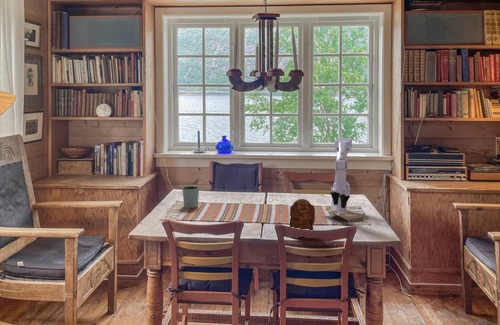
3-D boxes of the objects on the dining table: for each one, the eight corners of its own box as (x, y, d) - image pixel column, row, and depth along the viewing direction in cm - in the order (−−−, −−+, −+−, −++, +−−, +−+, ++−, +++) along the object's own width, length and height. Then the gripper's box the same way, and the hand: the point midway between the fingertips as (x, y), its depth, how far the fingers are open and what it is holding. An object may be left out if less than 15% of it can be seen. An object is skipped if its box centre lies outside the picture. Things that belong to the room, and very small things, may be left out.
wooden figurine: (292, 237, 217) (293, 201, 215) (288, 234, 223) (289, 198, 221) (315, 236, 220) (317, 200, 217) (311, 232, 226) (312, 197, 223)
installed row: (336, 215, 260) (337, 212, 260) (348, 214, 263) (348, 211, 263) (351, 221, 247) (351, 218, 247) (363, 220, 250) (363, 217, 249)
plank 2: (331, 212, 250) (333, 209, 250) (342, 218, 253) (343, 215, 253) (338, 215, 243) (340, 212, 243) (349, 221, 246) (351, 218, 246)
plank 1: (324, 209, 257) (326, 206, 257) (335, 215, 260) (336, 212, 260) (331, 212, 250) (332, 209, 250) (342, 218, 253) (343, 215, 253)
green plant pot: (200, 205, 282) (200, 186, 281) (197, 208, 272) (197, 189, 271) (184, 204, 283) (184, 185, 282) (180, 208, 273) (180, 188, 272)
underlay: (321, 216, 257) (321, 216, 257) (348, 214, 264) (348, 213, 264) (336, 223, 243) (336, 223, 243) (364, 221, 249) (364, 220, 249)
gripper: (326, 180, 250) (326, 204, 252) (341, 184, 237) (340, 209, 239) (337, 179, 253) (336, 203, 254) (353, 183, 239) (351, 208, 241)
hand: (339, 206), depth 247 cm, fingers open, 7 cm apart
